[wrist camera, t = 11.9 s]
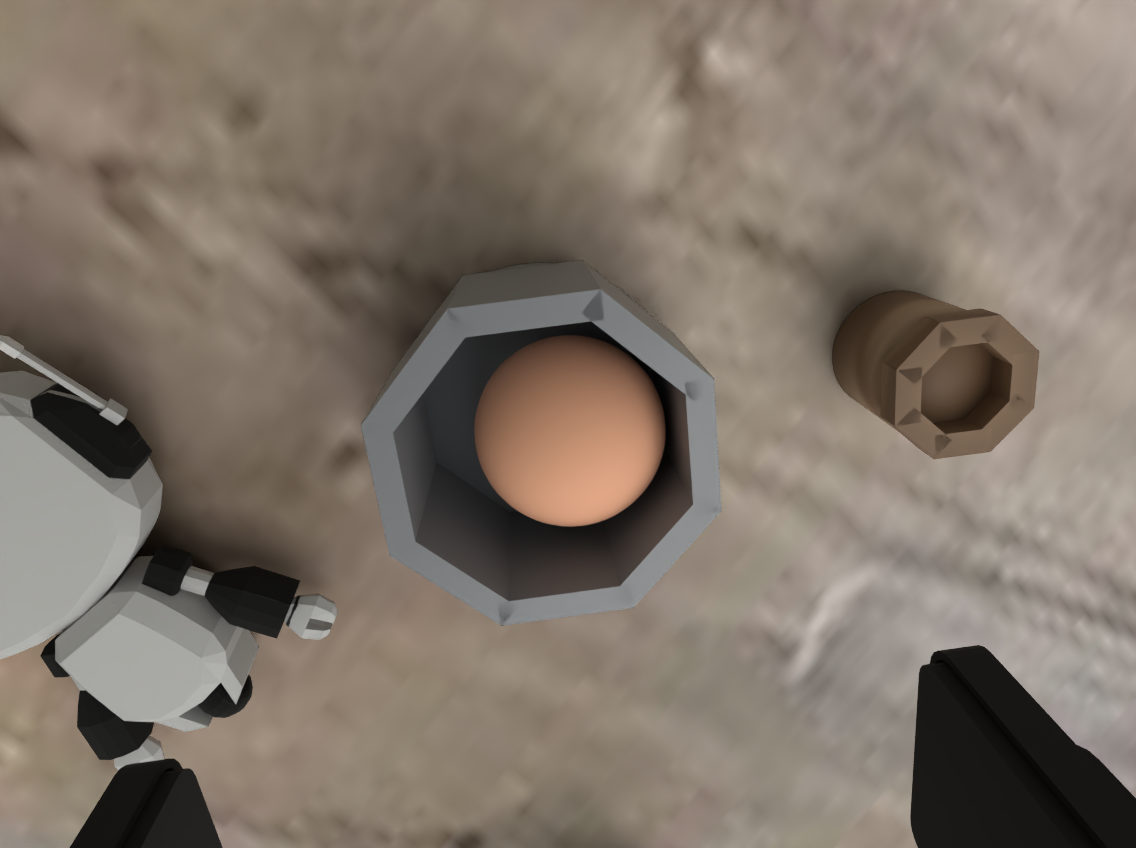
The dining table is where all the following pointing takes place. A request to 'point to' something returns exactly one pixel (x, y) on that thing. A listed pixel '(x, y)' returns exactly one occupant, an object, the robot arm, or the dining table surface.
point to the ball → (570, 430)
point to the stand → (937, 371)
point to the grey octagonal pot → (464, 494)
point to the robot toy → (119, 574)
